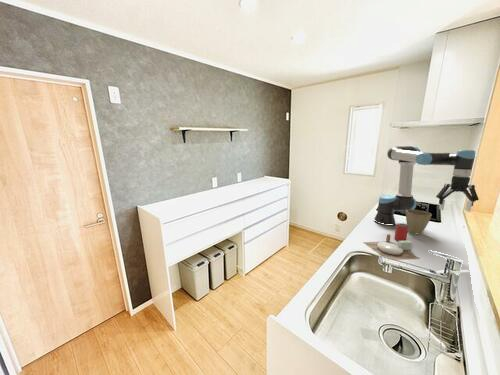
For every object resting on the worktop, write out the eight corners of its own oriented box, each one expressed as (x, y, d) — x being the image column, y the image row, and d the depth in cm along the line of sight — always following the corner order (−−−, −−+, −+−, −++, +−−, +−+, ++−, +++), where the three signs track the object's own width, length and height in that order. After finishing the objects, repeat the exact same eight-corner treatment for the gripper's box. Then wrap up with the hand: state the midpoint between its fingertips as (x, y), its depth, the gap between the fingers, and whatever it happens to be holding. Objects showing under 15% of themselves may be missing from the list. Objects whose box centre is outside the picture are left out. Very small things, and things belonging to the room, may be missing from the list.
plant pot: (404, 234, 150) (408, 213, 148) (401, 227, 163) (404, 208, 160) (430, 238, 144) (434, 216, 141) (424, 231, 157) (428, 211, 154)
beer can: (400, 239, 142) (403, 223, 139) (408, 243, 135) (411, 226, 133) (391, 239, 141) (394, 223, 139) (398, 243, 135) (401, 226, 133)
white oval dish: (387, 255, 117) (388, 247, 116) (372, 244, 130) (373, 237, 129) (418, 254, 118) (420, 246, 118) (400, 244, 131) (402, 236, 130)
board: (362, 243, 134) (363, 233, 133) (391, 243, 136) (392, 233, 134) (386, 261, 113) (388, 249, 111) (420, 260, 114) (422, 248, 113)
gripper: (440, 176, 120) (434, 210, 124) (492, 178, 115) (484, 213, 119) (432, 174, 128) (426, 207, 132) (481, 176, 122) (473, 210, 126)
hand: (454, 210), depth 125 cm, fingers open, 13 cm apart
